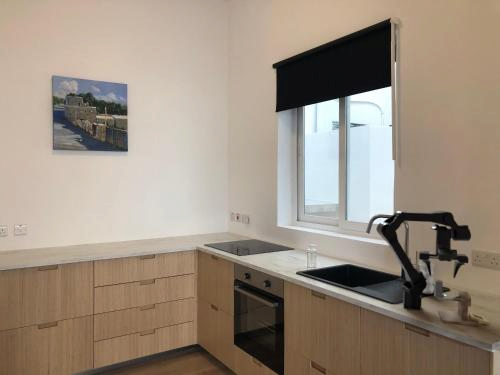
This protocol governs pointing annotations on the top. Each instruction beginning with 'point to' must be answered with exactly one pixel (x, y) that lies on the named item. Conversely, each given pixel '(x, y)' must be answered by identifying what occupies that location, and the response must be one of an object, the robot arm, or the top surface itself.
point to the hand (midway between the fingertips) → (442, 277)
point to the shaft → (439, 292)
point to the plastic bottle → (427, 275)
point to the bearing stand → (459, 312)
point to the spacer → (477, 318)
